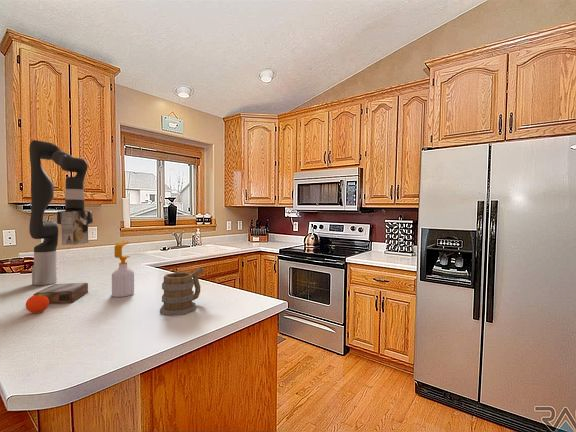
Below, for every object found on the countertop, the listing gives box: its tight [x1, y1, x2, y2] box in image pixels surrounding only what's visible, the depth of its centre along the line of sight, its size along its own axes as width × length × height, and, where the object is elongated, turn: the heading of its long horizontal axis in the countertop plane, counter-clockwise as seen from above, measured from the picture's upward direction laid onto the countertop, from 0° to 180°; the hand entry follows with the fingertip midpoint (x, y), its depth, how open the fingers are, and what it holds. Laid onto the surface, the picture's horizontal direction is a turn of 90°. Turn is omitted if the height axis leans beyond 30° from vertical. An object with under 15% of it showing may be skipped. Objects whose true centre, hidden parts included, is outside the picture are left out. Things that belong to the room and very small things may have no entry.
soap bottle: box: [111, 241, 135, 298], centre depth 137 cm, size 9×9×25 cm
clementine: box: [25, 294, 50, 314], centre depth 113 cm, size 8×7×7 cm
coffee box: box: [60, 210, 89, 246], centre depth 142 cm, size 9×6×16 cm
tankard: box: [159, 267, 205, 317], centre depth 119 cm, size 20×13×15 cm, turn 148°
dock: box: [32, 282, 89, 305], centre depth 130 cm, size 14×17×5 cm
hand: (75, 232), depth 142 cm, fingers closed on coffee box, 8 cm apart
